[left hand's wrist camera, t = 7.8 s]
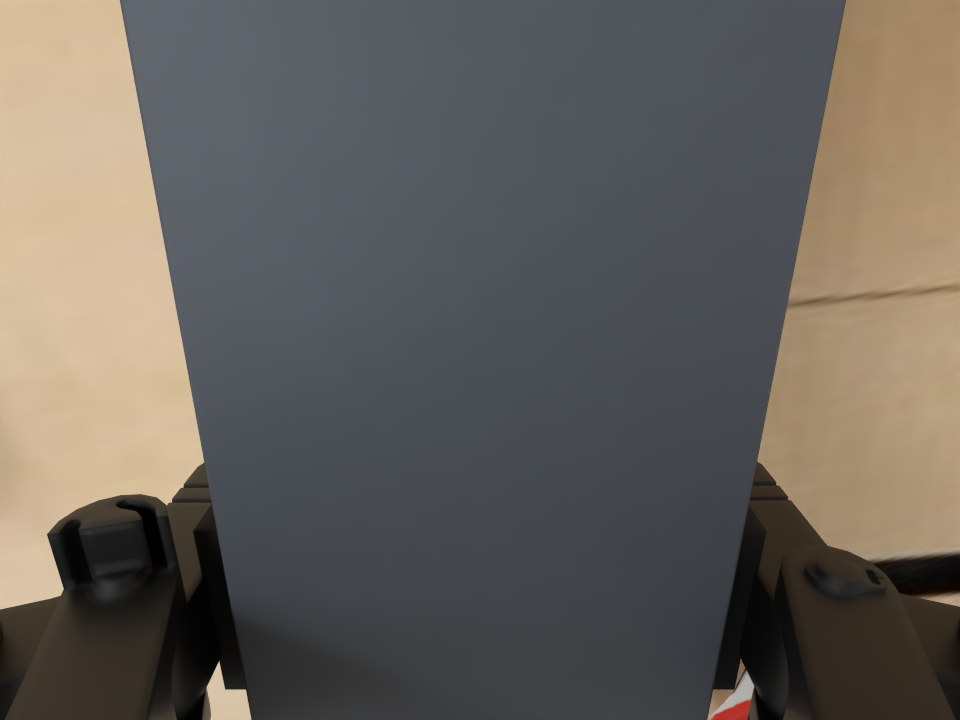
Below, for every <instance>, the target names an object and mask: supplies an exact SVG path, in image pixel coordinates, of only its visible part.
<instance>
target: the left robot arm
mask: <svg viewBox="0 0 960 720" xmlns="http://www.w3.org/2000/svg"><path fill="white" fill-rule="evenodd" d="M47 536H48V539H49V542H50V545H51V549H52V552H53V555H54V558H55V562H56V565H57V568H58V571H59V574H60V578H61V581H62V584H63V587H64V590H63V592H62V595H61V596H59V597H55V598H52V599H48V600H43V601H38V602H34V603H29V604H24V605H20V606H15V607H10V608H6V609H1V610H0V720H210V719H211V710H210V703H209V698H208V693H207V688H206V687H207V685H208V683H209V681H210V679H211V677H212V675H213V673H214V670H215V668H216V666H217V664H218V662H219V661H220V666H221V671H222V676H223V681H224V686H225V689H246V686H245V681H244V675H243V670H242V664H241V659H240V653H239V648H238V643H237V637H236V632H235V626H234V621H233V615H232V610H231V604H230V599H229V593H228V588H227V582H226V577H225V571H224V566H223V561H222V555H221V550H220V544H219V539H218V533H217V528H216V522H215V517H214V511H213V506H212V500H211V495H210V490H209V484H208V479H207V473H206V468H205V463H203V464H202V465H200V466H198V467H197V469H196V470H195V471H194V472H193V474H192V475H191V476H190V477H189V479H188V480H187V481H186V482H185V484H184V488H181V489H180V490H179V491H178V492H177V494H176V495H175V496H174V497H173V499H172V503H169V504H168V505H167V506H166V504H164V503H163V502H162V501H161V500H159V499H158V498H156V497H152V496H147V495H142V494H138V495H120V496H116V497H112V498H107V499H103V500H99V501H96V502H94V503H91V504H89V505H87V506H84V507H82V508H79V509H77V510H75V511H74V512H72V513H71V514H69V515H68V516H66V517H65V518H63V519H61V520H60V521H58V523H57V524H56V525H55V526H54V527H53V528H52V529H51V531H50V532H49V533H48V534H47ZM740 659H741V660H742V662H743V664H744V666H745V668H746V670H747V672H748V674H749V676H750V679H751V681H752V683H753V685H754V688H753V693H752V698H751V702H750V707H749V711H748V716H747V720H960V607H958V606H953V605H949V604H944V603H939V602H935V601H930V600H925V599H921V598H916V597H911V596H908V595H904V594H900V593H898V591H897V589H896V587H895V586H894V585H893V583H892V582H891V581H890V579H889V578H888V577H887V575H886V574H885V573H884V572H882V571H881V570H880V569H878V568H877V567H876V566H874V565H873V564H872V563H870V562H869V561H867V560H865V559H863V558H861V557H859V556H856V555H854V554H852V553H850V552H848V551H844V550H840V549H837V548H833V547H829V546H827V545H826V544H825V542H824V541H823V540H822V539H821V537H820V536H819V535H818V534H817V532H816V531H815V530H814V529H813V527H812V526H811V525H810V524H809V522H808V521H807V520H806V519H805V517H804V516H803V515H802V514H801V512H800V511H799V510H798V509H797V507H796V506H795V505H794V504H793V503H792V501H791V500H788V496H787V495H786V494H785V493H784V491H783V490H782V489H781V488H780V486H776V481H775V480H774V479H773V478H772V476H771V475H770V474H769V473H768V471H767V470H766V469H765V468H764V466H763V465H762V464H760V463H759V462H757V463H756V469H755V474H754V479H753V484H752V489H751V495H750V500H749V505H748V510H747V515H746V521H745V526H744V531H743V536H742V541H741V546H740V552H739V557H738V562H737V567H736V572H735V578H734V583H733V588H732V593H731V598H730V604H729V609H728V614H727V619H726V624H725V630H724V635H723V640H722V645H721V650H720V655H719V661H718V666H717V671H716V676H715V681H714V687H713V689H734V688H735V684H736V679H737V674H738V669H739V664H740Z"/></svg>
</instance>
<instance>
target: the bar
mask: <svg viewBox="0 0 960 720" xmlns="http://www.w3.org/2000/svg"><path fill="white" fill-rule="evenodd" d="M845 2H846V0H120V3H121V9H122V14H123V20H124V25H125V31H126V36H127V42H128V47H129V52H130V58H131V63H132V69H133V74H134V80H135V85H136V91H137V96H138V102H139V107H140V113H141V118H142V123H143V129H144V134H145V140H146V145H147V151H148V156H149V162H150V167H151V173H152V178H153V184H154V189H155V194H156V200H157V205H158V211H159V216H160V222H161V227H162V233H163V238H164V244H165V249H166V255H167V260H168V266H169V271H170V276H171V282H172V287H173V293H174V298H175V304H176V309H177V315H178V320H179V326H180V331H181V337H182V342H183V347H184V353H185V358H186V364H187V369H188V375H189V380H190V386H191V391H192V397H193V402H194V408H195V413H196V419H197V424H198V429H199V435H200V440H201V446H202V451H203V457H204V462H205V468H206V473H207V479H208V484H209V490H210V495H211V500H212V506H213V511H214V517H215V522H216V528H217V533H218V539H219V544H220V550H221V555H222V561H223V566H224V571H225V577H226V582H227V588H228V593H229V599H230V604H231V610H232V615H233V621H234V626H235V632H236V637H237V643H238V648H239V653H240V659H241V664H242V670H243V675H244V681H245V686H246V692H247V697H248V703H249V708H250V714H251V719H252V720H707V718H708V713H709V707H710V702H711V697H712V692H713V687H714V681H715V676H716V671H717V666H718V661H719V655H720V650H721V645H722V640H723V635H724V630H725V624H726V619H727V614H728V609H729V604H730V598H731V593H732V588H733V583H734V578H735V572H736V567H737V562H738V557H739V552H740V546H741V541H742V536H743V531H744V526H745V521H746V515H747V510H748V505H749V500H750V495H751V489H752V484H753V479H754V474H755V469H756V463H757V458H758V453H759V448H760V443H761V437H762V432H763V427H764V422H765V417H766V412H767V406H768V401H769V396H770V391H771V386H772V380H773V375H774V370H775V365H776V360H777V354H778V349H779V344H780V339H781V334H782V329H783V323H784V318H785V313H786V308H787V303H788V297H789V292H790V287H791V282H792V277H793V271H794V266H795V261H796V256H797V251H798V245H799V240H800V235H801V230H802V225H803V220H804V214H805V209H806V204H807V199H808V194H809V188H810V183H811V178H812V173H813V168H814V162H815V157H816V152H817V147H818V142H819V136H820V131H821V126H822V121H823V116H824V111H825V105H826V100H827V95H828V90H829V85H830V79H831V74H832V69H833V64H834V59H835V53H836V48H837V43H838V38H839V33H840V28H841V22H842V17H843V12H844V7H845Z"/></svg>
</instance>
